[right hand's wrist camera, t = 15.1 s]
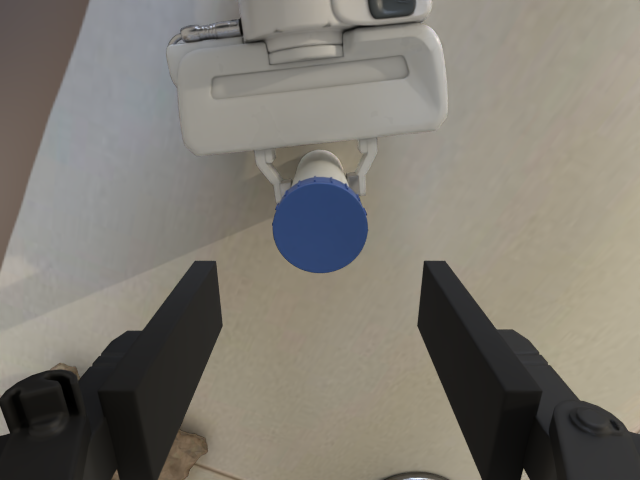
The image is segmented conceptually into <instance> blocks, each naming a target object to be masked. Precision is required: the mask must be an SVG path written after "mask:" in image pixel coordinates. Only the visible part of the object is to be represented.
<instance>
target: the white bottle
mask: <svg viewBox="0 0 640 480" xmlns="http://www.w3.org/2000/svg"><path fill="white" fill-rule="evenodd" d="M314 176H316V177H328V178H330V177H332V179H336V180H338V181H341V182H342V183H344V184H345V183H346V184H347V185H348V182H347V179H346V176H345V173H344V170H343V167H342V164H341V162H340V160H339V159H338V158H337V157H336V156H335V155H334V154H333V153H331V152H329V151H326V150H314V151H311V152H309V153H307V154H306V155H305V156H304V157H303V158H302V159H301V160H300V162H299V164H298V167H297V170H296V174H295V177H294V180H293V183H292V186H293V185H295V184H296V183H298V181H299V180H300V181H302V180H305V179H308V178H312V177H314ZM292 186H291V187H292ZM348 187H349V185H348Z"/></svg>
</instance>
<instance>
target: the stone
mask: <svg viewBox="0 0 640 480" xmlns="http://www.w3.org/2000/svg"><path fill="white" fill-rule="evenodd" d="M58 369H62V370H68V371H72V372H73V373H74V374H76V375H77V378H78V381H79V379H80V377H79V374H78V372H77V368H76V367H71V366H67V365H66V364H63V363H59V364H58V365H56V366H55V367H53V368H52V369H51V370H58ZM207 452H208V447H207V443H206V440H205V438H204V437H201V436H198V435H196V434H195V433H194V434H190V433H187V432H183V431H181V430H180V429H179V431H178V433H177V435H176V438H175V440H174V443H173V445H172V447H171V450H170V452H169V454H168V457H167V459H166V462H165V464H164V466H163V469H162V471H161V473H160V476H159V478H158V480H184V479H185V478H186V477H187V476H188V474H189V470H190V469H191V467H192V466H193V465H194V464H195V462H196V461H197V460H198V458H199V457H200V456H201V455H204V454H206V453H207ZM111 480H119V476H118V472H117V470H116V472H115V473H114V475H113V477H112V479H111Z"/></svg>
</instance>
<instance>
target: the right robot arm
mask: <svg viewBox="0 0 640 480" xmlns="http://www.w3.org/2000/svg"><path fill="white" fill-rule="evenodd" d="M222 326H223V325H222V315H221V305H220V295H219V286H218V276H217V266H216V261H195V262H194V263H193V264H192V266H191V267H190V268H189V270H188V271H187V272H186V273H185V275H184V276H183V277H182V279H181V280H180V281H179V283H178V284H177V285H176V287H175V288H174V289H173V291H172V292H171V293H170V295H169V296H168V297H167V299H166V300H165V301H164V303H163V304H162V305H161V307H160V308H159V309H158V311H157V312H156V313H155V315H154V316H153V317H152V319H151V320H150V321H149V323H148V324H147V325H146V327H145V328H144V329H143V331H126V332H125V333H123V334H122V335H120V336H119V337H117V338H116V339H114V340H113V341H111V343H110V344H109V345H108V346H107V347H106V349H105V350H104V351H103V352H102V353H101V356H99V357H98V358H97V359H96V360H95V362H94V363H93V365H92V367H90V368H89V369H88V370H87V371H86V372H85V373H84V375H83V376H82V377H81V378H80V379H79V381H78V378H77V375H76V374H74V373H73V372H72V371H68V370H62V369H58V370H49V371H44V372H41V373H38V374H35V375H32V376H30V377H28V378H26V379H24V380H22V381H20V382H18V383H16V384H15V385H14V386H12V387H11V388H9V389H8V390H7V391H6V392H5V393H4V394H3V395H2V397H1V398H0V407H1V410H2V412H3V415H4V418H5V420H6V423H7V426H8V429H9V431H10V434H7V435H3V436H0V480H111V479H112V477H113V475H114V473H115V472H116V470H117V472H118V476H119V480H158V478H159V476H160V473H161V471H162V469H163V466H164V464H165V462H166V459H167V457H168V454H169V452H170V450H171V447H172V445H173V443H174V440H175V438H176V435H177V433H178V431H179V428H180V426H181V423H182V421H183V419H184V416H185V414H186V412H187V409H188V407H189V404H190V402H191V400H192V397H193V395H194V393H195V390H196V388H197V385H198V383H199V381H200V378H201V376H202V374H203V371H204V369H205V366H206V364H207V362H208V359H209V357H210V355H211V352H212V350H213V347H214V345H215V343H216V340H217V338H218V336H219V333H220V331H221V328H222ZM417 326H418V328H419V331H420V333H421V336H422V338H423V340H424V343H425V345H426V347H427V350H428V352H429V355H430V357H431V359H432V362H433V364H434V366H435V369H436V371H437V374H438V376H439V378H440V381H441V383H442V385H443V388H444V390H445V393H446V395H447V397H448V400H449V402H450V404H451V407H452V409H453V412H454V414H455V416H456V419H457V421H458V423H459V426H460V428H461V431H462V433H463V435H464V438H465V440H466V443H467V445H468V447H469V450H470V452H471V454H472V457H473V459H474V462H475V464H476V466H477V469H478V471H479V473H480V476H481V478H482V480H521V476H522V472H523V468H524V470H525V471H526V473H527V475H528V477H529V479H530V480H640V434H636V433H632V432H629V431H628V430H627V428H626V427H625V425H624V424H623V423H622V422H621V421H620V420H619V419H617V418H616V417H615V416H614V415H613V414H611V413H610V412H608V411H606V410H604V409H602V408H601V407H599V406H596V405H594V404H591V403H588V402H585V401H580V400H579V399H578V398H577V396H576V395H575V394H574V393H573V392H572V391H571V389H570V388H569V387H568V386H567V385H566V383H565V382H564V381H563V380H562V379H561V378H560V376H559V375H558V374H557V373H556V372H555V370H554V369H553V368H552V367H551V366H550V365H548V362H547V361H546V360H545V359H544V358H543V356H542V355H539V352H538V350H537V349H536V348H535V347H534V346H533V345H532V343H531V342H530V341H529V340H528V339H526V338H525V337H523V336H522V335H520V334H519V333H517V332H516V331H514V330H497V329H496V328H495V327H494V325H493V324H492V323H491V321H490V320H489V319H488V317H487V316H486V315H485V313H484V312H483V311H482V309H481V308H480V307H479V305H478V304H477V303H476V301H475V300H474V299H473V297H472V296H471V295H470V293H469V292H468V291H467V289H466V288H465V287H464V285H463V284H462V283H461V281H460V280H459V279H458V277H457V276H456V275H455V274H454V272H453V271H452V270H451V268H450V267H449V266H448V264H447V263H446V262H445V261H424V266H423V276H422V286H421V295H420V305H419V315H418V325H417ZM385 480H448V479H446V478H444V477H442V476H439V475H435V474H431V473H424V472H411V473H403V474H399V475H395V476H392V477H389V478H387V479H385Z"/></svg>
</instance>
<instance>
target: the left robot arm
mask: <svg viewBox="0 0 640 480" xmlns="http://www.w3.org/2000/svg"><path fill="white" fill-rule="evenodd" d="M238 4H239V11H240V16H241V18H240V19H238V20H231V21H223V22H217V23H213V24H209V25H203V26H199V25H190V26H186V27H183V28H181V31H180V33H179V34H177V35H175V36H174V37H173V38H172V39H171V41H170V42H169V44H168V46H167V50H166V57H167V62H168V67H169V71H170V76H171V79H172V81H173V83H174V84H175V86H176V87H177V93H178V108H179V117H180V125H181V132H182V137H183V142H184V144H185V146H186V147H187V148H188V149H189V150H190V151H191V152H192V153H193V154H194V155H196V156H208V155H217V154H226V153H236V152H245V151H254V154H255V161H256V165H257V167H258V168H259V169H260V170H261V172H262V173H263V174H264V175H265V177H266V178H267V179H268V180H269V182H270V183H271V184H273V186H274V193H275V200H276V204H278V203H280V201H281V199H282V197H283V196H284V194H285V191H286V190H289V189H290V188H291V186H292V183H293V180H292V179H283V178H282V177H281V176H280V174H279V173H278V171H277V170H276V169H275V167H274V166H273V165H272V162H273V161H274V160H275V158H276V155H275V148H282V147H291V146H301V145H310V144H319V143H328V142H338V141H347V140H356V139H357V146H358V150H359V151H360V153H363V155H362V157H361V160H360V162H359V164H358V166H357V168H356V170H355V172H349V173H346V179H347V182H348V185H349V187H350V188H351V189H352V190H353V191H354V192H355V194H358V196H364V195H366V182H365V175H366V174H367V173H368V171H369V169H370V167H371V165H372V163H373V161H374V159H375V157H376V155H377V153H378V148H377V137H384V136H393V135H403V134H412V133H421V132H430V131H436V130H438V129H439V128H440V126H441V125H442V123H443V122H444V120H445V119H446V117H447V113H448V93H447V78H446V68H445V61H444V54H443V49H442V45H441V42H440V39H439V37H438V35H437V34H436V33H435V31H434V30H433V29H432V28H431V27H429V26H427V25H425V24H423V23H422V22H423V21H424V20H425V19H426V18H427V16H428V15H429V13H430V11H431V8H432V0H238ZM243 36H244V38H243ZM181 39H182V40H183V41H184V42H186V43H182V44H176V43H177V42H178V41H180V40H181ZM211 39H214V40H211ZM215 39H216V40H215ZM203 40H208V41H203Z"/></svg>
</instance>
